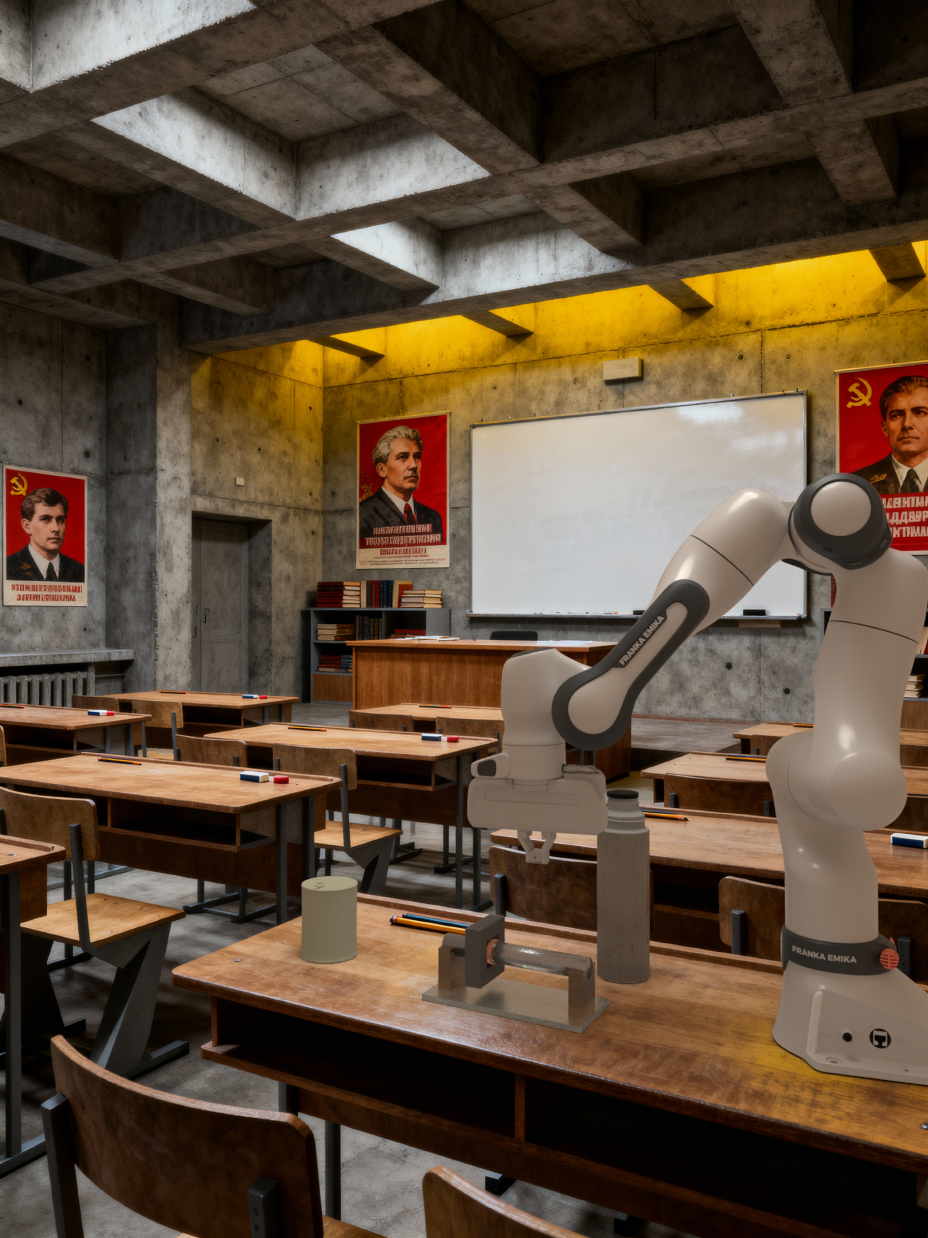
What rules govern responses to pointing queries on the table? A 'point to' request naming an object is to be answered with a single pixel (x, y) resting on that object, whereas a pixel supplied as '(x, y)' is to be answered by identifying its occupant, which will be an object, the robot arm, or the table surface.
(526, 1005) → the rail
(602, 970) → the thermos bottle
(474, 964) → the collar
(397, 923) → the table surface
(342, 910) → the can
